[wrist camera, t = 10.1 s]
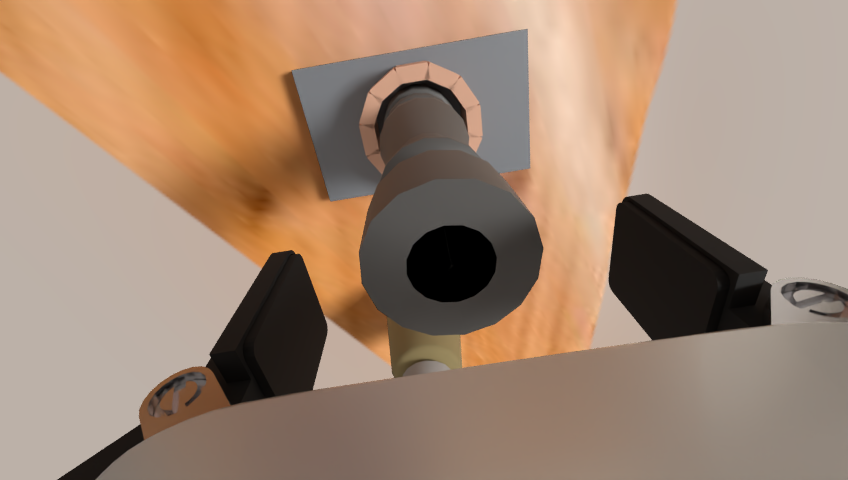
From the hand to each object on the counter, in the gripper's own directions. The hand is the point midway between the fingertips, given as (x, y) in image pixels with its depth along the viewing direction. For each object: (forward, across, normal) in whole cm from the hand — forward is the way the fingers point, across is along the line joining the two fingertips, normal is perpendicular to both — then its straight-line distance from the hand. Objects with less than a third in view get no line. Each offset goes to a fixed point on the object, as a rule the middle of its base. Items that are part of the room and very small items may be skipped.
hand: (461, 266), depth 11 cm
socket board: (+27, 0, +1) cm, 27 cm away
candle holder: (+26, 0, 0) cm, 26 cm away
